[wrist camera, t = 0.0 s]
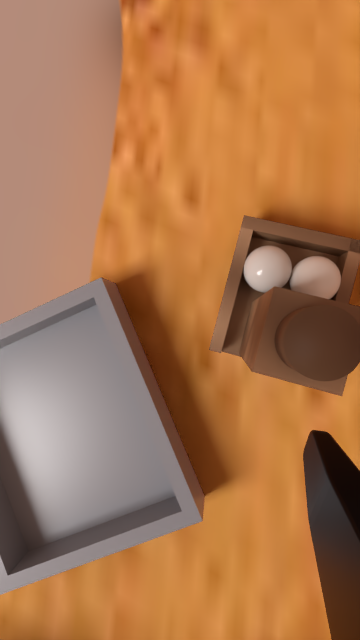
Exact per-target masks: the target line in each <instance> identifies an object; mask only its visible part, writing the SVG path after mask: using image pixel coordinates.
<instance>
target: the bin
mask: <svg viewBox="0 0 360 640" xmlns="http://www.w3.org/2000/svg"><path fill="white" fill-rule="evenodd" d="M204 498H205V496H204V494H203V491H202V489H201V486H200V484H199V482H198V479H197V477H196V474H195V472H194V470H193V467H192V465H191V462H190V460H189V458H188V455H187V453H186V451H185V448H184V446H183V443H182V441H181V439H180V436H179V434H178V431H177V429H176V427H175V424H174V422H173V419H172V417H171V415H170V412H169V410H168V408H167V405H166V403H165V400H164V398H163V396H162V393H161V391H160V388H159V386H158V384H157V381H156V379H155V376H154V374H153V372H152V369H151V367H150V365H149V362H148V360H147V357H146V355H145V353H144V350H143V348H142V345H141V343H140V341H139V338H138V336H137V333H136V331H135V329H134V326H133V324H132V322H131V319H130V317H129V314H128V312H127V310H126V307H125V305H124V302H123V300H122V298H121V295H120V293H119V290H118V288H117V286H116V283H113V282H111V281H109V280H106V279H104V278H99V279H97V280H95V281H93V282H90V283H88V284H86V285H84V286H82V287H80V288H77V289H75V290H73V291H71V292H69V293H67V294H65V295H63V296H60V297H58V298H56V299H54V300H52V301H50V302H47V303H45V304H43V305H41V306H39V307H37V308H34V309H33V310H30V311H28V312H26V313H24V314H22V315H19V316H18V317H16V318H13V319H11V320H9V321H7V322H4V323H2V324H0V595H1V594H4V593H6V592H9V591H12V590H15V589H17V588H20V587H23V586H26V585H28V584H31V583H34V582H36V581H39V580H42V579H45V578H47V577H50V576H53V575H56V574H58V573H61V572H64V571H67V570H69V569H72V568H75V567H78V566H80V565H83V564H86V563H89V562H91V561H94V560H97V559H100V558H102V557H105V556H108V555H111V554H113V553H116V552H119V551H122V550H124V549H127V548H130V547H133V546H135V545H138V544H141V543H144V542H146V541H149V540H152V539H154V538H157V537H160V536H163V535H165V534H168V533H171V532H174V531H176V530H179V529H182V528H185V527H187V526H190V525H193V524H196V523H198V522H201V521H203V510H204Z"/></svg>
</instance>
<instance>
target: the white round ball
mask: <svg viewBox="0 0 360 640" xmlns="http://www.w3.org/2000/svg"><path fill="white" fill-rule="evenodd" d="M291 272H292V264H291V260H290V258H289V256H288V255H287V253H286V252H285V251H283V250H282V249H280V248H278V247H276V246H271V245H267V246H262V247H259V248H257V249H255V250H254V251H252V252H251V253H250V254H249V255H248V257H247V259H246V261H245V263H244V277H245V279H246V281H247V283H248V284H249V285H250V286H251V287H252V288H253V289H255V290H257V291H259V292H263V293H266V292H267V291H269V290H270V289H271V288H273V287H274V286H276V287H280V288H282V287H283V286H284V285H285V284H286V283H287V282H288V280H289V279H290V276H291Z"/></svg>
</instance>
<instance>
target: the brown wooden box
mask: <svg viewBox="0 0 360 640" xmlns="http://www.w3.org/2000/svg"><path fill="white" fill-rule="evenodd" d="M267 245H271V246H276V247H278V248H280V249H282V250H283V251H285V252H286V253H287V255H288V256H289V258H290V260H291V264H292V270H293V268H294V267H295V265H296V264H297V263H298V262H300V261H301V260H303V259H305V258H307V257H311V256H322V257H325V258H328V259H330V260H331V261H332V262H334V263H335V264H336V266H337V267H338V269H339V271H340V274H341V283H340V287H339V289H338V291H337V292H336V294H335V295H334V296H333V297H332V298H331V299H326V298H322V297H317V296H313V295H309V294H305V293H301V292H296V291H292V290H291V288H290V283H289V280H290V279H289V280H288V282H287V283H286V284H285V285H284V286H283V287H282V288H280V287H276V286H274V287H273V288H271V289H270V290H269V291H267V292H266V293H263V292H259V291H257V290H255V289H253V288H252V287H251V286H250V285H249V284H248V283H247V281H246V279H245V277H244V263H245V261H246V259H247V257H248V255H249V254H250V253H251V252H252V251H254V250H255V249H257V248H259V247H262V246H267ZM359 263H360V240H356V239H352V238H347V237H342V236H338V235H333V234H328V233H324V232H319V231H314V230H310V229H305V228H301V227H296V226H291V225H287V224H282V223H277V222H273V221H268V220H263V219H259V218H254V217H250V216H245V215H244V218H243V222H242V226H241V229H240V233H239V237H238V241H237V245H236V248H235V252H234V256H233V260H232V264H231V268H230V271H229V275H228V279H227V283H226V287H225V291H224V294H223V298H222V302H221V306H220V310H219V314H218V317H217V321H216V325H215V329H214V333H213V336H212V340H211V344H210V348H209V350H211V351H215V352H219V353H221V351H222V352H226V353H229V354H233V355H237V356H241V357H242V358H243V360H244V361H245V363H246V364H247V365H248V367H249V368H250V369H251V371H252V372H255V373H259V374H263V375H266V376H270V377H274V378H277V379H281V380H285V381H288V382H292V383H296V384H299V385H303V386H307V387H310V388H314V389H318V390H321V391H325V392H328V393H332V394H336V395H339V396H342V394H343V391H344V387H345V383H346V379H347V376H348V374H349V373H350V372H352V371H353V370H354V369H355V368H356V366H357V365H358V364H359V362H360V307H359V306H355V305H351V304H349V300H350V296H351V293H352V289H353V285H354V281H355V278H356V274H357V270H358V266H359Z"/></svg>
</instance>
